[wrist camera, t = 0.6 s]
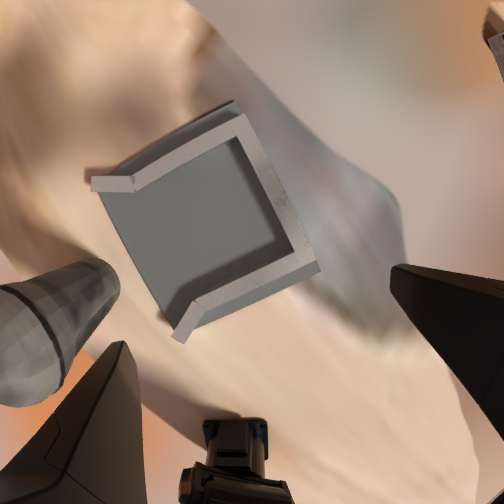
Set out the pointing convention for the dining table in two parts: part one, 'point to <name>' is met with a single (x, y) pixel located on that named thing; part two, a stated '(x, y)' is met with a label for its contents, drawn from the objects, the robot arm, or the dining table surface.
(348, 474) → the dining table surface
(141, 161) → the gray raised edge tray
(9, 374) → the beverage cup
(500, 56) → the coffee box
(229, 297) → the flared docking tray
